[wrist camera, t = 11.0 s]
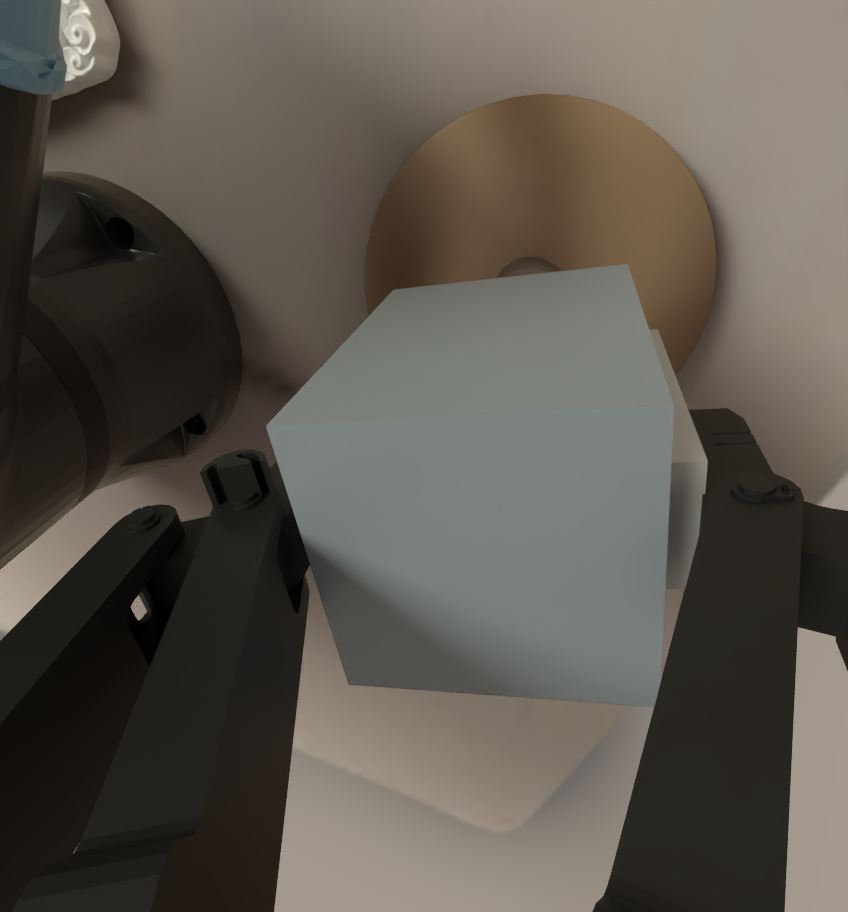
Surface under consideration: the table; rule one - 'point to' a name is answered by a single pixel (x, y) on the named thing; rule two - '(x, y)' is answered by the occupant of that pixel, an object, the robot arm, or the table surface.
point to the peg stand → (550, 209)
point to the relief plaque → (87, 44)
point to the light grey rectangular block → (491, 489)
